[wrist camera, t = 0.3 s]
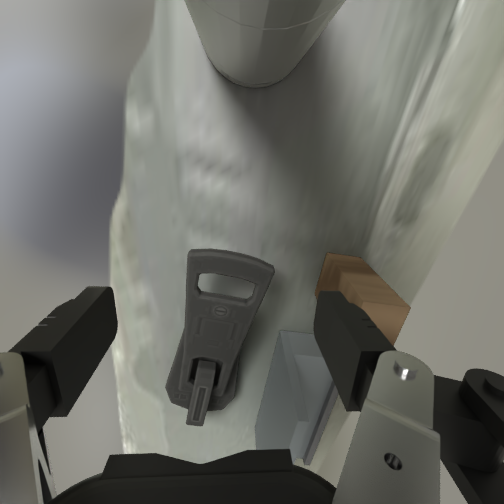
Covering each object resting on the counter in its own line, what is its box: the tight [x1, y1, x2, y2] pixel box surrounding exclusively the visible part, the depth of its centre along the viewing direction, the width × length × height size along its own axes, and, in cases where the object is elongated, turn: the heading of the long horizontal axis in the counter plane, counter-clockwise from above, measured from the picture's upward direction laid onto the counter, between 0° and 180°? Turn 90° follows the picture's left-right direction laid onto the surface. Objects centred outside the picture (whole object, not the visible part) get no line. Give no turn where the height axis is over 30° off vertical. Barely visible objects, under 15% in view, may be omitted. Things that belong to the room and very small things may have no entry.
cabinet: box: [315, 253, 411, 346], centre depth 27 cm, size 5×5×10 cm
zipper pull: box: [165, 249, 275, 426], centre depth 31 cm, size 9×7×25 cm
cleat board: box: [255, 330, 338, 465], centre depth 33 cm, size 18×7×12 cm, turn 170°
